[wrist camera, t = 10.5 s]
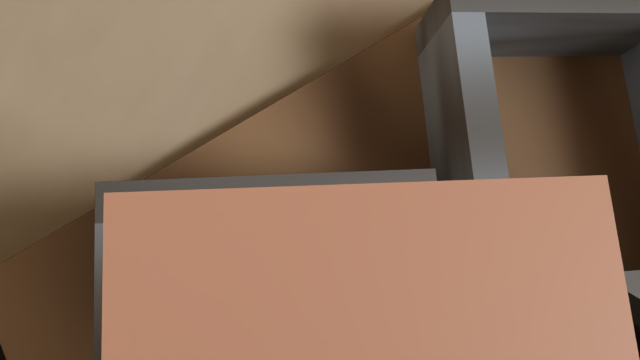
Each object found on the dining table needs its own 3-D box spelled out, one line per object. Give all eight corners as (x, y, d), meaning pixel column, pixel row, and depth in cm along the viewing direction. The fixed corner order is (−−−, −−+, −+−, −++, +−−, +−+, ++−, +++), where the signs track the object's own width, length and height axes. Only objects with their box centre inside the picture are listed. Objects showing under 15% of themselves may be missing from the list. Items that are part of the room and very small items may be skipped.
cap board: (201, 728, 14) (190, 865, 11) (-49, 299, 16) (-130, 297, 12) (782, 221, 20) (896, 203, 17) (564, -63, 21) (628, -134, 18)
